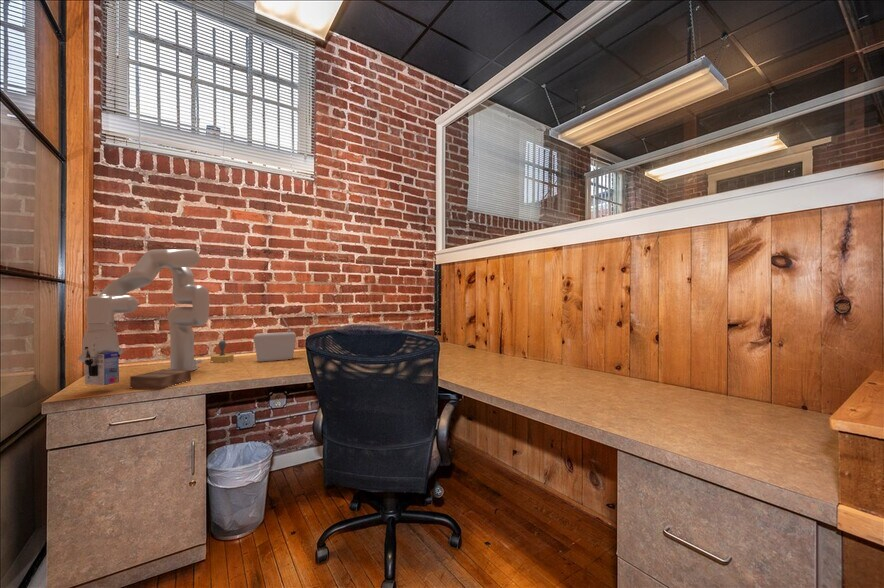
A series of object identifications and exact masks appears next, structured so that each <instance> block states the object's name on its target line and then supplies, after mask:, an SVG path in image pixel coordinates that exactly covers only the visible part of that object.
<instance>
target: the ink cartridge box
mask: <svg viewBox="0 0 884 588" xmlns="http://www.w3.org/2000/svg"><path fill="white" fill-rule="evenodd" d="M119 358H120V357H118V352H115V351H112V352H105V353H100V354H99V357H98V358H97V362H96V365H95V366H98V375H97V376H89V368H88V366H87V365H86V364H85V363H84V384H85V385H95V386H107V385H112V384H117V383H119V382H120V367H119V360H120V359H119ZM86 359H88V358H86Z"/></svg>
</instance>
